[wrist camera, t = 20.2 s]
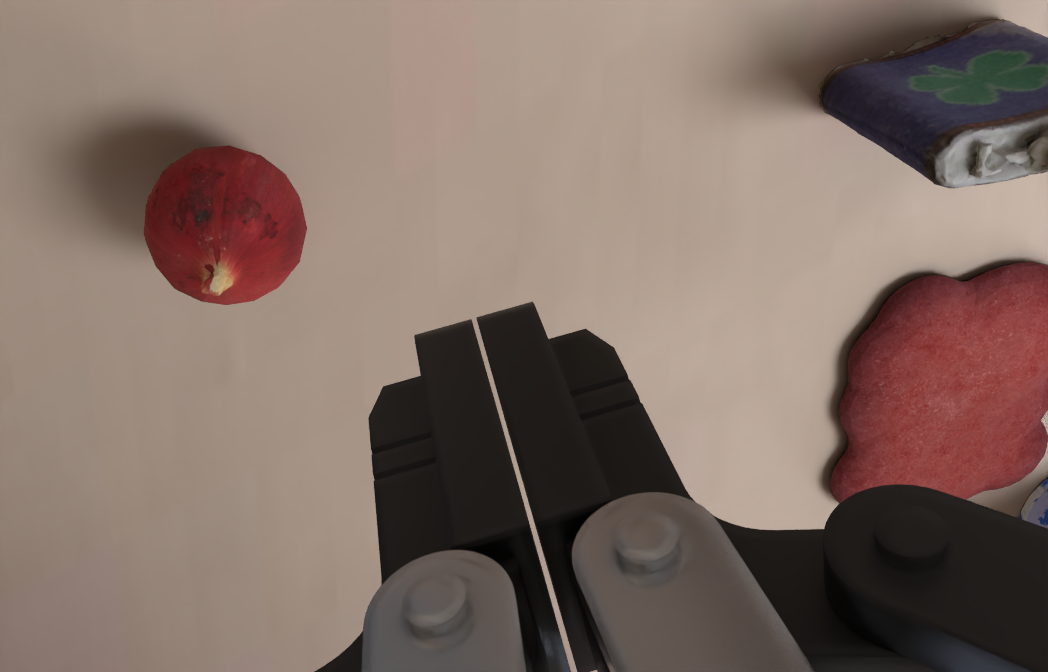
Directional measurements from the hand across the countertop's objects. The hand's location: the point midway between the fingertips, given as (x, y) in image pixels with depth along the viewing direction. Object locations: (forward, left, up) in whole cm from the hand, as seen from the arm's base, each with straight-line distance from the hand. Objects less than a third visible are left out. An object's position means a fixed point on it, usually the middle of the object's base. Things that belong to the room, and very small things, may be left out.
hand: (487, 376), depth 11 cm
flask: (+22, -10, -27) cm, 36 cm away
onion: (-8, -7, -27) cm, 29 cm away
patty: (+25, -30, -27) cm, 48 cm away
